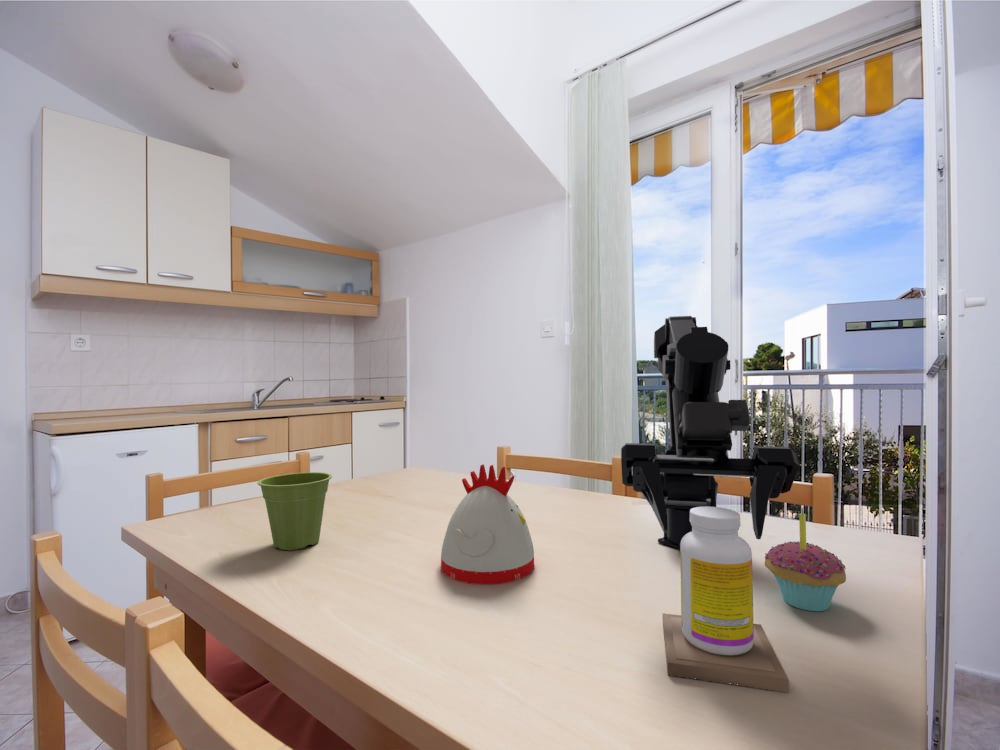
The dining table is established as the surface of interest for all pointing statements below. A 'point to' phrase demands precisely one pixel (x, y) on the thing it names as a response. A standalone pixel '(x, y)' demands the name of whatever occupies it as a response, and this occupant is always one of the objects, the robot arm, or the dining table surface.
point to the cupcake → (805, 572)
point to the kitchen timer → (487, 534)
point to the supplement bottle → (716, 583)
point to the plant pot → (295, 507)
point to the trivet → (723, 660)
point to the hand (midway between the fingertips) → (711, 534)
